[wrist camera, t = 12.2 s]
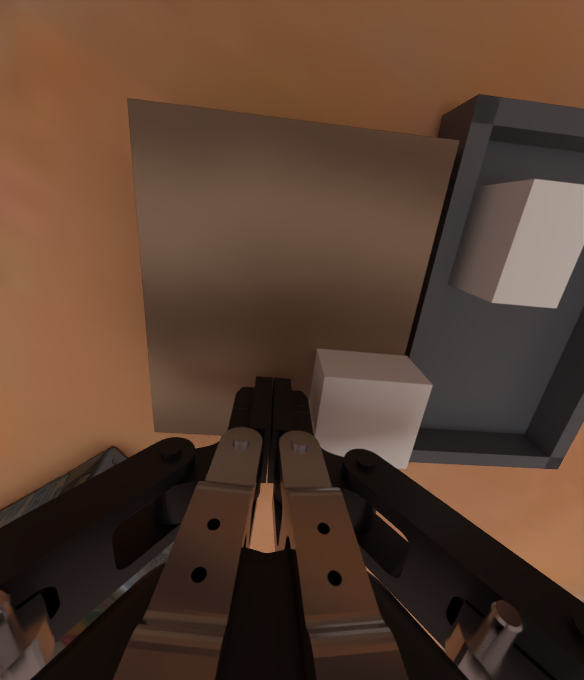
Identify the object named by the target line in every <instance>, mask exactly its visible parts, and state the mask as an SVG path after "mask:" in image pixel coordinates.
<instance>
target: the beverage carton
mask: <svg viewBox="0 0 584 680" xmlns="http://www.w3.org/2000/svg"><path fill="white" fill-rule="evenodd" d="M126 459H127V458H126V457H125V456H124V455H122V454H121V453H120V452H119V451H118V450H117V449H116V448H113V447H111V448H110V449H108V450H106V451H105V452H103V453H101V454H99V455H97V456H95V457H94V458H92V459H90V460H89V461H87V462H86V463H84V464H82V465H80V466H79V467H77V468H75V469H74V470H72V471H70V472H68V473H67V474H65V475H63V476H61V477H59V478H58V479H56V480H54V481H52V482H50V483H48V484H47V485H45V486H43V487H42V488H40V489H38V490H37V491H35V492H33V493H31V494H30V495H28V496H26V497H24V498H23V499H21V500H19V501H18V502H16V503H14V504H12V505H11V506H9V507H7V508H5V509H3V510H2V511H0V528H1V527H3V526H4V525H6V524H8V523H10V522H12V521H14V520H15V519H17V518H19V517H21V516H23V515H25V514H26V513H28V512H30V511H32V510H34V509H36V508H37V507H39V506H41V505H43V504H45V503H47V502H48V501H50V500H52V499H54V498H56V497H58V496H60V495H61V494H63V493H65V492H67V491H69V490H71V489H72V488H74V487H76V486H78V485H80V484H82V483H83V482H85V481H87V480H89V479H91V478H93V477H94V476H96V475H98V474H100V473H102V472H104V471H105V470H107V469H109V468H111V467H113V466H115V465H116V464H118V463H120V462H122V461H124V460H126ZM148 504H149V503H148ZM138 511H139V510H138ZM125 520H126V519H125ZM173 543H174V542H173ZM173 543H171V544H170V545H169V546H168V547H167V548H166V549H164V550H163V551H162V552H161V553H160V554H159V555H157V556H156V557H155V558H154V559H153V560H151V561H150V562H149V563H148V564H147V565H146V566H144V567H143V568H142V569H141V570H140V571H139V572H137V573H136V574H135V575H134V576H133V577H132V578H130V579H129V580H128V581H127V582H126V583H124V584H123V585H122V586H121V587H120V588H119V589H117V590H116V591H115V592H114V593H113V594H112V595H110V596H109V597H108V598H107V599H106V600H105V601H103V602H102V603H101V604H100V605H99V606H98V607H96V608H95V609H94V610H93V611H92V612H90V613H89V614H88V615H87V616H86V617H85V618H83V619H82V620H81V621H80V622H79V623H78V624H76V625H75V626H74V627H73V628H72V629H71V630H69V631H68V632H67V633H66V634H65V635H64V636H62V637H61V638H60V639H59V640H58V641H56V642H55V644H54V649H53V652H52V655H51V657H50V660H49V662H50V661H51V660H52V659H53V658H54V657H55V656H56V655H57V654H58V653H59V652H61V651H62V650H63V649H64V648H65V647H66V646H67V645H68V644H69V643H70V642H71V641H73V640H74V639H75V638H76V637H77V636H78V635H79V634H80V633H81V632H82V631H83V630H84V629H86V628H87V627H88V626H89V625H90V624H91V623H92V622H93V621H94V620H95V619H96V618H98V617H99V616H100V615H101V614H102V613H103V612H104V611H105V610H106V609H107V608H108V607H109V606H111V605H112V604H113V603H114V602H115V601H116V600H117V599H118V598H119V597H120V596H121V595H123V594H124V593H125V592H126V591H127V590H128V589H129V588H130V587H131V586H132V585H133V584H134V583H136V582H137V581H138V580H139V579H140V578H141V577H143V576H144V575H145V574H147V573H148V572H149V571H151V570H152V569H154V568H155V567H157V566H159V565H160V564H162V563H164V562H166V561H167V558H168V556H169V553H170V551H171V548H172V546H173ZM49 662H48V663H49ZM48 663H47V664H48Z"/></svg>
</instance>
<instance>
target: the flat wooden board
mask: <svg viewBox="0 0 584 680" xmlns="http://www.w3.org/2000/svg"><path fill="white" fill-rule="evenodd" d="M127 102H128V114H129V126H130V139H131V151H132V163H133V175H134V187H135V199H136V211H137V223H138V236H139V248H140V260H141V272H142V284H143V296H144V308H145V320H146V333H147V345H148V357H149V369H150V381H151V393H152V405H153V417H154V430H155V432H165V433H184V434H202V435H221V436H222V435H223V434H224V433H225V432H226V431H227V430H228V426H229V421H230V417H231V413H232V409H233V404H234V400H235V396H236V393H237V392H238V391H239V390H240V389H241V388H242V387H255V381H256V376H261V377H273V381H274V377H275V378H288V379H291V390H297V391H302V392H303V393H304V394H305V395H306V396H307V397H308V402H309V399H310V392H311V385H312V378H313V372H314V365H315V358H316V351H317V348H318V349H330V350H342V351H354V352H366V353H378V354H390V355H402V356H404V355H405V351H406V347H407V343H408V339H409V335H410V332H411V328H412V324H413V320H414V316H415V312H416V308H417V304H418V300H419V296H420V293H421V289H422V285H423V281H424V277H425V273H426V269H427V265H428V261H429V257H430V254H431V250H432V246H433V242H434V238H435V234H436V230H437V226H438V222H439V219H440V215H441V211H442V207H443V203H444V199H445V195H446V191H447V187H448V183H449V180H450V176H451V172H452V168H453V164H454V160H455V156H456V152H457V148H458V144H459V140H452V139H444V138H436V137H428V136H420V135H412V134H405V133H397V132H389V131H381V130H373V129H365V128H358V127H350V126H342V125H334V124H326V123H318V122H311V121H303V120H295V119H287V118H279V117H271V116H264V115H256V114H248V113H240V112H232V111H224V110H217V109H209V108H201V107H193V106H185V105H177V104H170V103H162V102H154V101H146V100H138V99H130V98H127ZM272 391H273V386H272Z"/></svg>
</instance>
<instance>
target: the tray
mask: <svg viewBox="0 0 584 680" xmlns="http://www.w3.org/2000/svg"><path fill="white" fill-rule="evenodd" d="M438 138H444V139H452V140H459V144H458V148H457V152H456V156H455V160H454V164H453V168H452V172H451V176H450V180H449V183H448V187H447V191H446V195H445V199H444V203H443V207H442V211H441V215H440V219H439V222H438V226H437V230H436V234H435V238H434V242H433V246H432V250H431V254H430V257H429V261H428V265H427V269H426V273H425V277H424V281H423V285H422V289H421V293H420V296H419V300H418V304H417V308H416V312H415V316H414V320H413V324H412V328H411V332H410V335H409V339H408V343H407V347H406V351H405V355H404V356H408V358H409V359H410V360H411V361H412V362H413V363H414V364H415V365H416V367H417V368H418V369H419V370H420V371H421V372H422V373H423V374H424V376H425V377H426V378H427V379H428V380H429V381H430V382H431V383H432V385H433V386H432V389H431V392H430V396H429V399H428V402H427V405H426V408H425V411H424V415H423V418H422V421H421V424H420V427H419V430H418V434H417V437H416V440H415V443H414V446H413V450H412V453H411V456H410V459H409V462H420V463H440V464H460V465H481V466H501V467H521V468H541V469H558V468H559V466H560V464H561V462H562V460H563V459H564V457H565V455H566V453H567V451H568V449H569V448H570V446H571V444H572V442H573V440H574V438H575V436H576V435H577V433H578V431H579V429H580V427H581V425H582V424H583V422H584V246H583V248H582V250H581V253H580V255H579V257H578V260H577V262H576V264H575V267H574V269H573V271H572V274H571V276H570V278H569V281H568V283H567V285H566V288H565V290H564V292H563V294H562V297H561V299H560V301H559V304H558V306H557V308H545V307H533V306H522V305H511V304H500V303H491V302H489V301H486V300H484V299H482V298H479V297H477V296H474V295H472V294H470V293H467V292H465V291H463V290H460V289H458V288H456V287H453V286H451V285H448V281H449V277H450V274H451V270H452V267H453V263H454V260H455V256H456V253H457V249H458V246H459V243H460V239H461V236H462V232H463V229H464V225H465V222H466V218H467V215H468V211H469V208H470V204H471V201H472V197H473V194H474V190H475V187H477V186H484V185H492V184H499V183H507V182H514V181H522V180H530V179H540V180H549V181H557V182H565V183H574V184H582V185H584V109H581V108H574V107H567V106H560V105H553V104H546V103H538V102H531V101H524V100H517V99H510V98H503V97H495V96H488V95H481V94H478V95H477V96H475V97H473V98H472V99H470V100H468V101H467V102H465V103H463V104H461V105H460V106H458V107H456V108H455V109H453V110H451V111H450V112H448V113H446V114H445V115H443V118H442V122H441V126H440V131H439V135H438Z"/></svg>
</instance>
